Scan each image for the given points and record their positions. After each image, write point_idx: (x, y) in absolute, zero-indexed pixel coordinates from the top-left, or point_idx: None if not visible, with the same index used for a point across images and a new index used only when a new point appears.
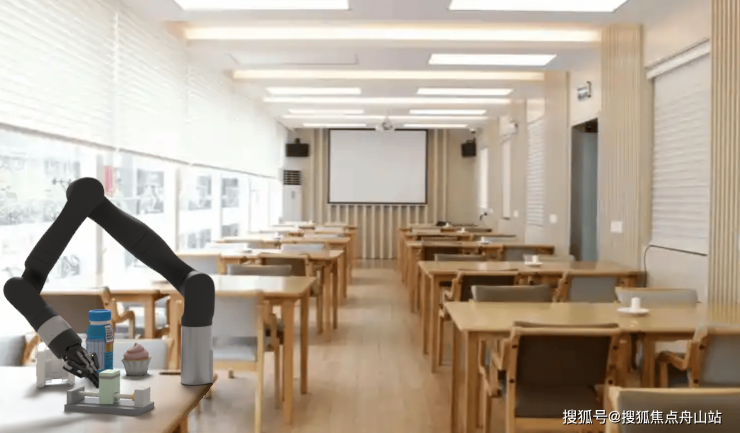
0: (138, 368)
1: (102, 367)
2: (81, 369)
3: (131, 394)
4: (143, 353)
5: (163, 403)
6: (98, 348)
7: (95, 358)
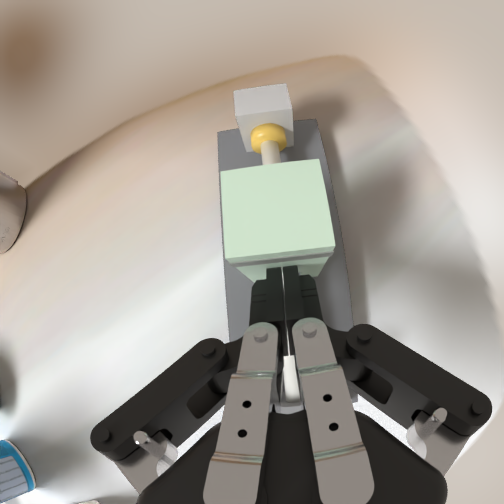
0: None
1: (10, 460)
2: (405, 348)
3: (268, 150)
4: None
5: (174, 148)
6: None
7: (149, 408)
